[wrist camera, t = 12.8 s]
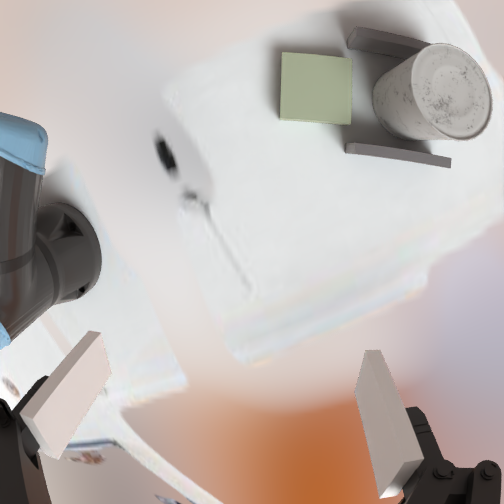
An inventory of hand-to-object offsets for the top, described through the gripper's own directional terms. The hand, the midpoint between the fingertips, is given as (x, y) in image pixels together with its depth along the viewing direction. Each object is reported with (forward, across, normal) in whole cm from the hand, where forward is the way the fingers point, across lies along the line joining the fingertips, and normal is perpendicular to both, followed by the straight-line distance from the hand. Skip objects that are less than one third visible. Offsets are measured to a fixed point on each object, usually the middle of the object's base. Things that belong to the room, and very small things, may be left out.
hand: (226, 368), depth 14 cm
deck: (+26, +6, +17) cm, 32 cm away
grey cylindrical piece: (+26, +18, +17) cm, 37 cm away
